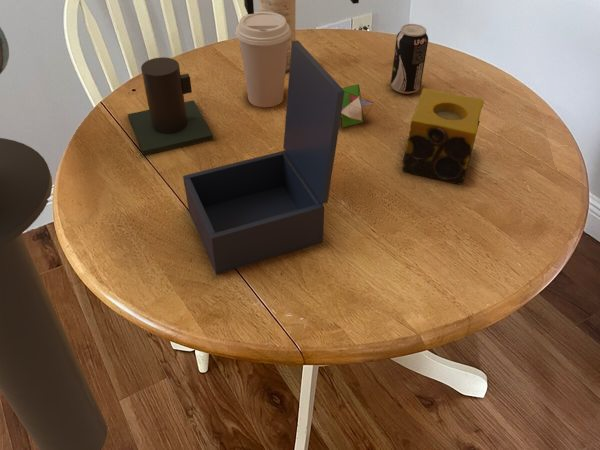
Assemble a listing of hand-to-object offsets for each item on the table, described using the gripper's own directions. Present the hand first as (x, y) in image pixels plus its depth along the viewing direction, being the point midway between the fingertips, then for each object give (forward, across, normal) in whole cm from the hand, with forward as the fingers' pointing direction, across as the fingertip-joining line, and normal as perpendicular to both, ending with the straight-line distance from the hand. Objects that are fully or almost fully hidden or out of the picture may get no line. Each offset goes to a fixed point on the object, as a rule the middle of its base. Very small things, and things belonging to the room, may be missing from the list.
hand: (301, 4), depth 75 cm
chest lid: (+12, +2, +9) cm, 15 cm away
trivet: (+27, +20, -17) cm, 37 cm away
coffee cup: (+27, +1, -23) cm, 36 cm away
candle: (+28, -22, +2) cm, 36 cm away
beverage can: (+28, -26, -21) cm, 43 cm away
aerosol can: (+27, -4, -35) cm, 45 cm away
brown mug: (+26, +19, -17) cm, 37 cm away
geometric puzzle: (+28, -12, -12) cm, 32 cm away
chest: (+27, +10, +11) cm, 31 cm away
